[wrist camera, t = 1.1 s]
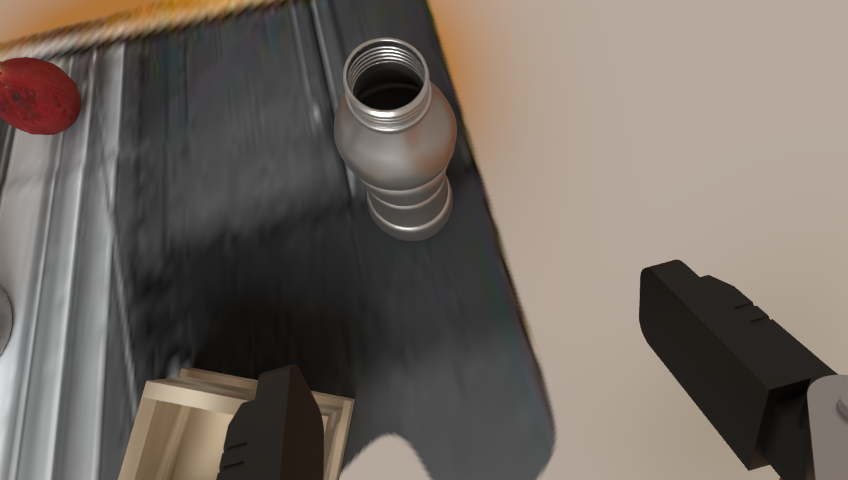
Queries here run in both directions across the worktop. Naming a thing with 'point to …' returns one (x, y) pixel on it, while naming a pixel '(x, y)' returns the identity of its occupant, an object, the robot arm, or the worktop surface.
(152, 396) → the wooden tray
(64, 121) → the onion
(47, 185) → the worktop surface
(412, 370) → the worktop surface
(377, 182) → the silver bottle
